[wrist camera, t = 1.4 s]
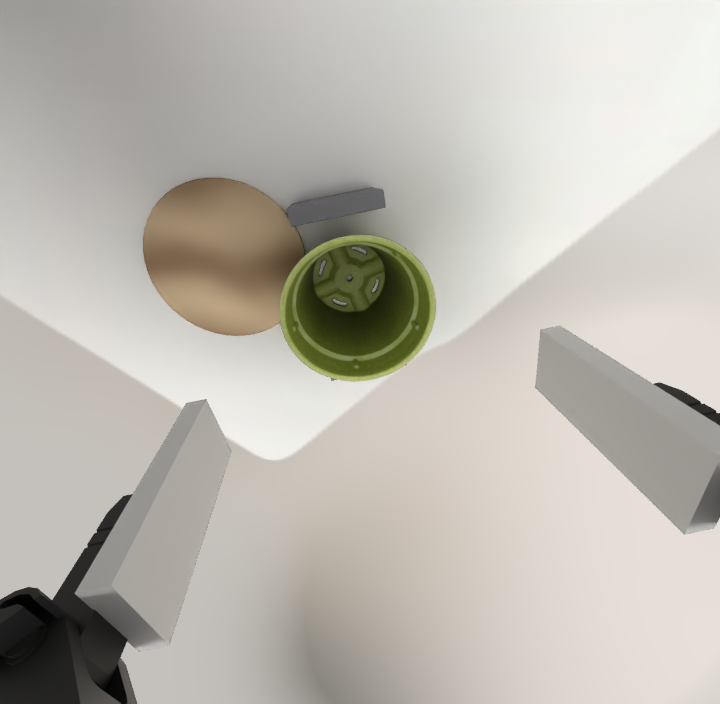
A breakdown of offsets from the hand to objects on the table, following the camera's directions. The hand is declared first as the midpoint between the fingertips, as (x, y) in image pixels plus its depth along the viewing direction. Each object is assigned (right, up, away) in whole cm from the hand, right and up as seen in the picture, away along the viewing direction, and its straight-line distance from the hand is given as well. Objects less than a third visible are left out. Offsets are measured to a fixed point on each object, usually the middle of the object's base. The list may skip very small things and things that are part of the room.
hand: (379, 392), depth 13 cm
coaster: (-11, +8, +13) cm, 19 cm away
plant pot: (-2, +8, +15) cm, 17 cm away
